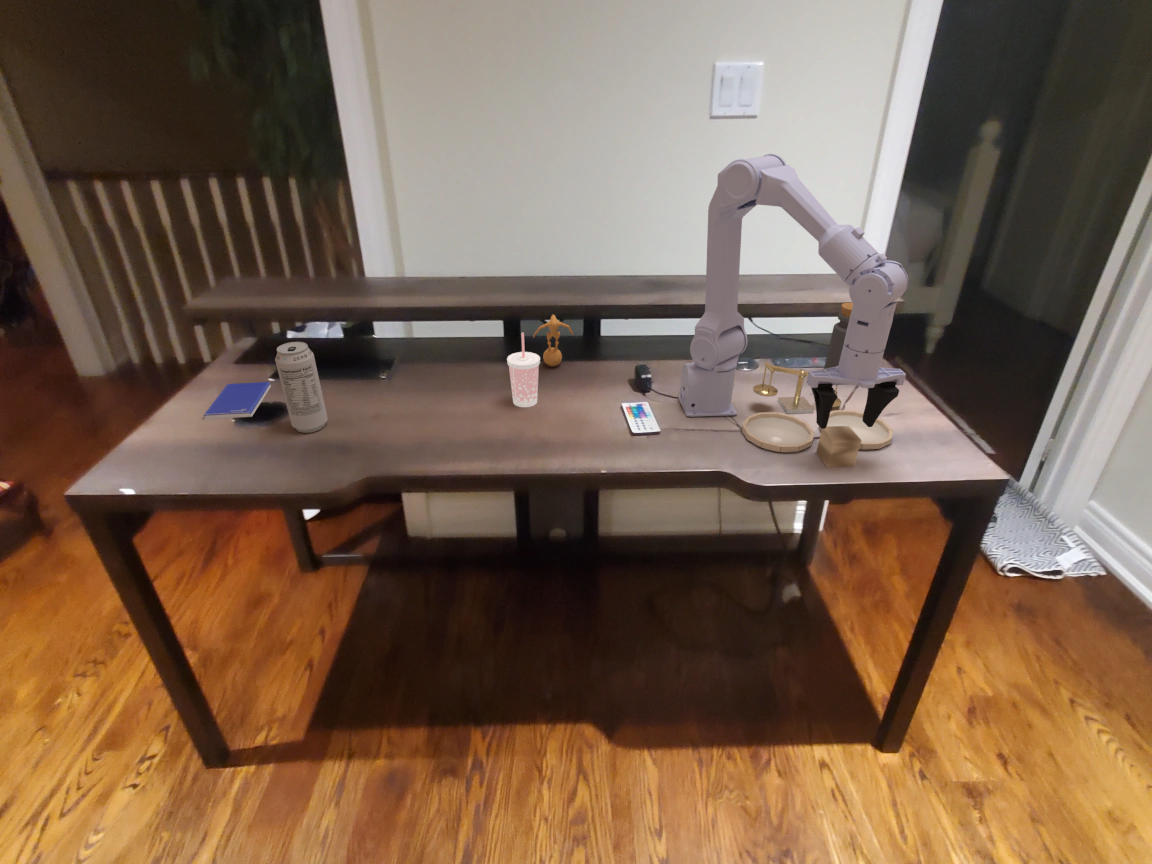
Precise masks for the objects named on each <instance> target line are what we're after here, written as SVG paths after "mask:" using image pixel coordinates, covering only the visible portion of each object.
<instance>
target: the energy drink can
mask: <svg viewBox="0 0 1152 864" xmlns="http://www.w3.org/2000/svg"><path fill="white" fill-rule="evenodd" d="M276 352H277V353H276V356H275V358H274V362H275V364H276V368H277V373H278V377H279V380H280V383H281V390H282V392H283V395H284V400H285V404H286V409H287V412H288V417H289V420H290V424H291V427H292V428H294V429H295V430H296V431H297V432H299V433H305V434H306V433H307V434H308V433H309V434H310V433H313V432H317V431H320V430H321V429H323V428H325V426H326V423H327V421H328V414H327V410H326V404H325V401H324V395H323V389H322V387H321V381H320V377H319V372H318V369H317V364H316V363H317V362H316V359H315V354H314V352H313V351H312V350H311V349H310V348H309V345H308V344H307V343H306V342H304V341H291V342H286V343H283V344H281V345H279V346H277V348H276Z"/></svg>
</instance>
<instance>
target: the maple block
mask: <svg viewBox="0 0 1152 864" xmlns="http://www.w3.org/2000/svg"><path fill="white" fill-rule="evenodd" d="M860 443H861V439H860V438H859V437H858V436H857V435H856V433H855V432H854V431H853V430H852V429H851V428H850V427H849V426H829V427H826V428H825V429H822V430H820V435H819V440H818V444H817V448H816V454H817V455H818V456H819V458H820V459H821V460H822V462H823V464H824V465H825V467H827V468H835V467H836V468H840V467H855V465H856V460H857V456H858V453H859V450H860V449H859V447H860Z"/></svg>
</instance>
